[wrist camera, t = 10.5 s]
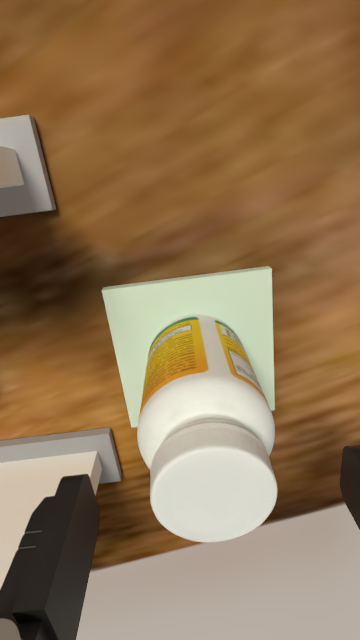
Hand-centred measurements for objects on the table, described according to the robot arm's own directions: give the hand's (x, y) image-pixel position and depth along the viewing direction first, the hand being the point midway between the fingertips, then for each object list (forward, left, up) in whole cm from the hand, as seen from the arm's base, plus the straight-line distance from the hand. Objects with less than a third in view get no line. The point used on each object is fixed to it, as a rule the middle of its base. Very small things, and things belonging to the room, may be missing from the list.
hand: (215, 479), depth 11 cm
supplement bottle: (0, 0, -9) cm, 9 cm away
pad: (0, 0, -10) cm, 10 cm away
